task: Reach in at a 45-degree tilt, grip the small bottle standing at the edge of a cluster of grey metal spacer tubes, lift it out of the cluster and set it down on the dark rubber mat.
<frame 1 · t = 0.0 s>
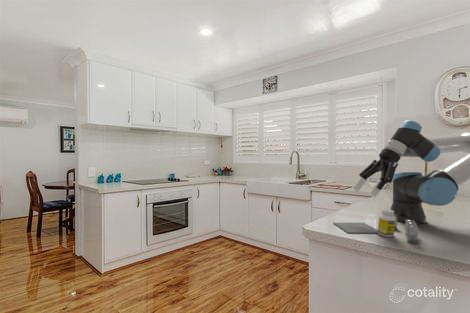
hand: (363, 192, 107), 15 cm above the counter, tool tilted 35°, fingers open, 13 cm apart
mat: (356, 228, 107), on the counter
supplement bottle: (385, 234, 98), on the counter, touching mat
spacer field: (398, 235, 98), on the counter
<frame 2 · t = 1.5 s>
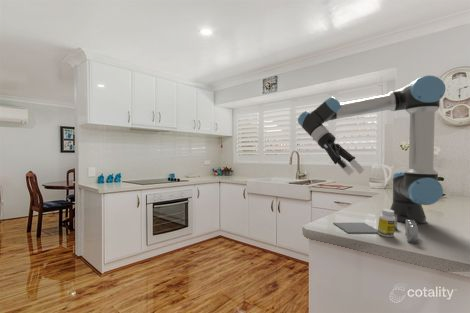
hand: (357, 172, 105), 24 cm above the counter, tool tilted 45°, fingers open, 13 cm apart
nothing on the counter moved.
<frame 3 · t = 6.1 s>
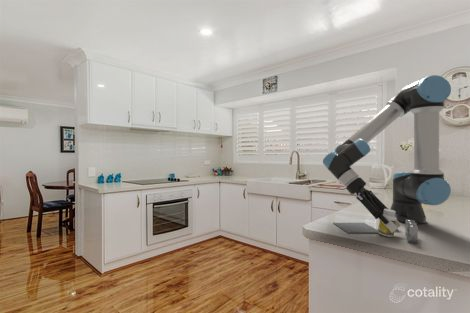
hand: (396, 228, 95), 3 cm above the counter, tool tilted 45°, fingers closed on supplement bottle, 5 cm apart
supplement bottle: (385, 234, 98), on the counter, touching gripper, mat
when the fingers open (5 cm above the counter, at t = 10.5 s): supplement bottle drops 2 cm, resting on mat.
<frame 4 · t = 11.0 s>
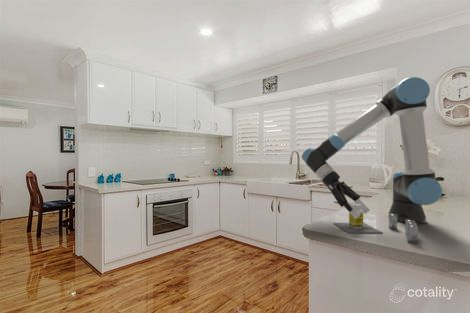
hand: (363, 214, 105), 6 cm above the counter, tool tilted 45°, fingers open, 12 cm apart
supplement bottle: (355, 227, 107), resting on mat
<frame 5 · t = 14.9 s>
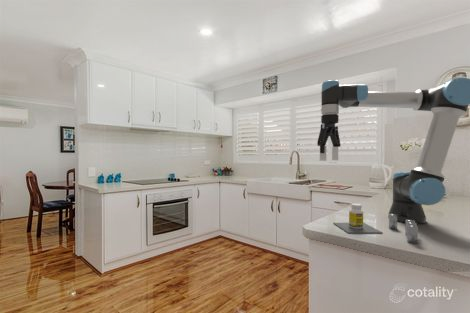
hand: (329, 160, 116), 29 cm above the counter, tool pointing down, fingers open, 13 cm apart
nothing on the counter moved.
at the end: supplement bottle 0.3 cm from the mat (horizontally); supplement bottle tilted 0°; supplement bottle resting on mat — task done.
